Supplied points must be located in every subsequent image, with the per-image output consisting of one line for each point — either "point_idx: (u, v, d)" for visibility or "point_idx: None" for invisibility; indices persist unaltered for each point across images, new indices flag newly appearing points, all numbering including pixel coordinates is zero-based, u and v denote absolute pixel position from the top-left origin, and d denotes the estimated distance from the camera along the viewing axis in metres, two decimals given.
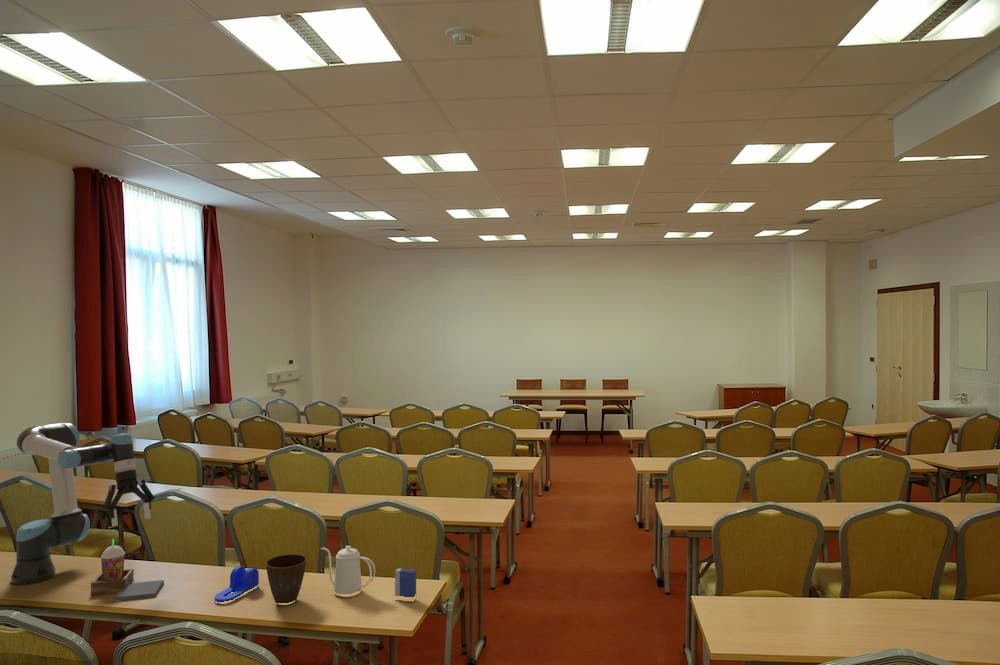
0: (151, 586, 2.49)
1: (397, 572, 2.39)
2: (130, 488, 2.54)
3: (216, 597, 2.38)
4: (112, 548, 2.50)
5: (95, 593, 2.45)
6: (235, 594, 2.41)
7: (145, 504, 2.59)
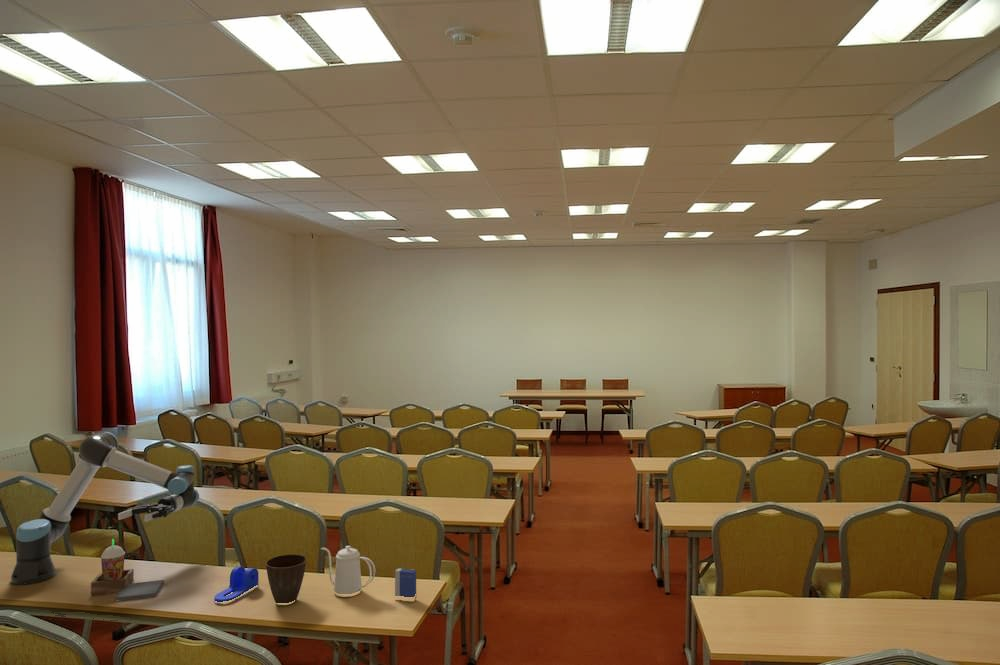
0: (151, 586, 2.49)
1: (397, 572, 2.39)
2: None
3: (216, 597, 2.38)
4: (112, 548, 2.50)
5: (95, 593, 2.45)
6: (235, 594, 2.41)
7: (130, 513, 2.69)
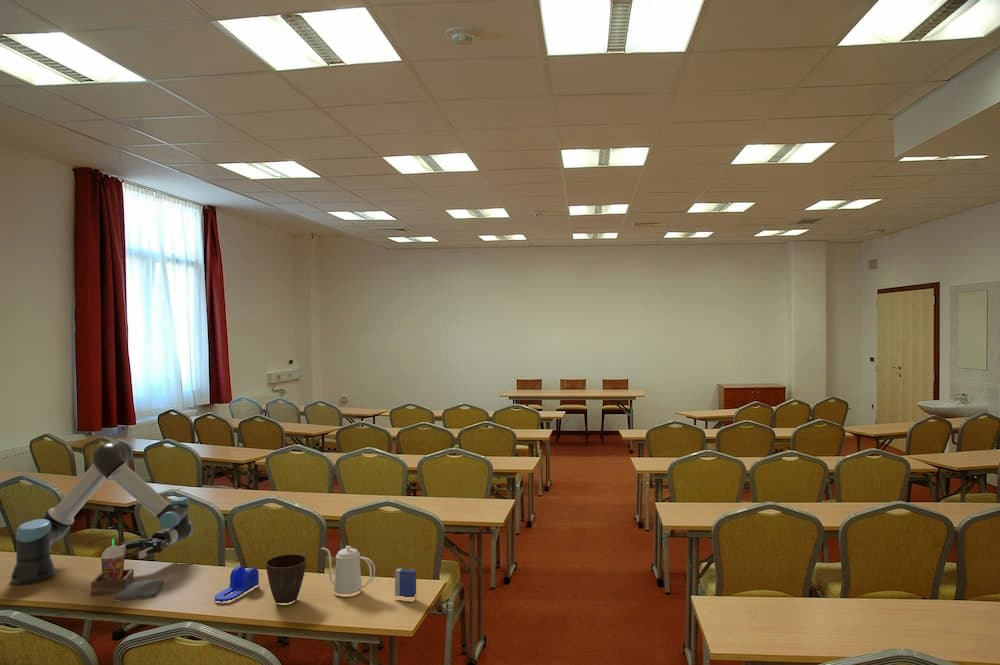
0: (151, 586, 2.49)
1: (397, 572, 2.39)
2: None
3: (216, 597, 2.38)
4: (112, 548, 2.50)
5: (95, 593, 2.45)
6: (235, 594, 2.41)
7: (124, 548, 2.65)
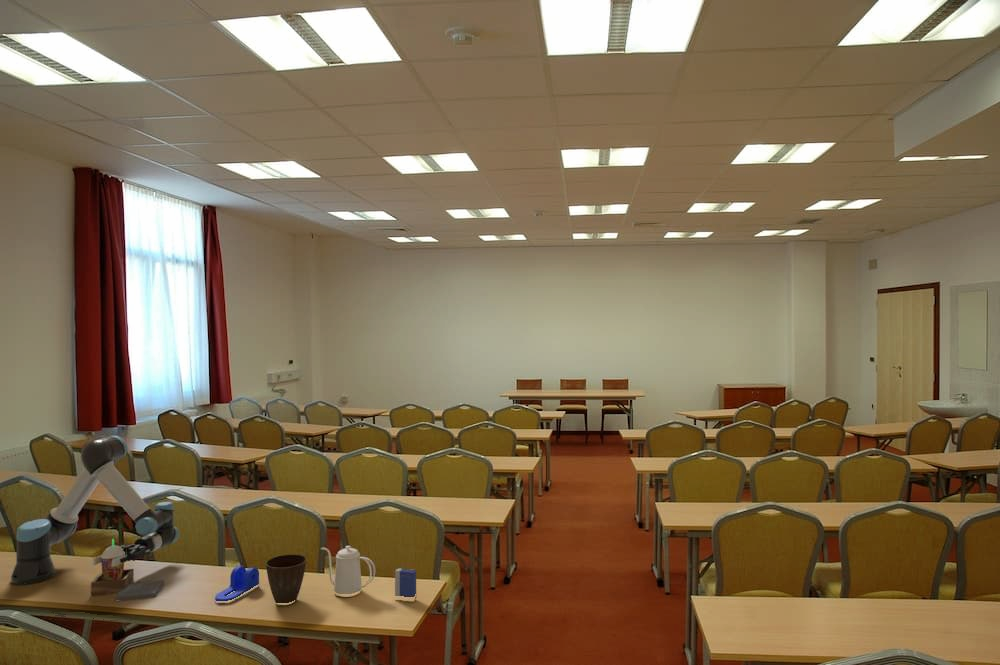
0: (151, 586, 2.49)
1: (397, 572, 2.39)
2: None
3: (217, 597, 2.38)
4: (112, 548, 2.50)
5: (95, 593, 2.45)
6: (236, 594, 2.41)
7: None
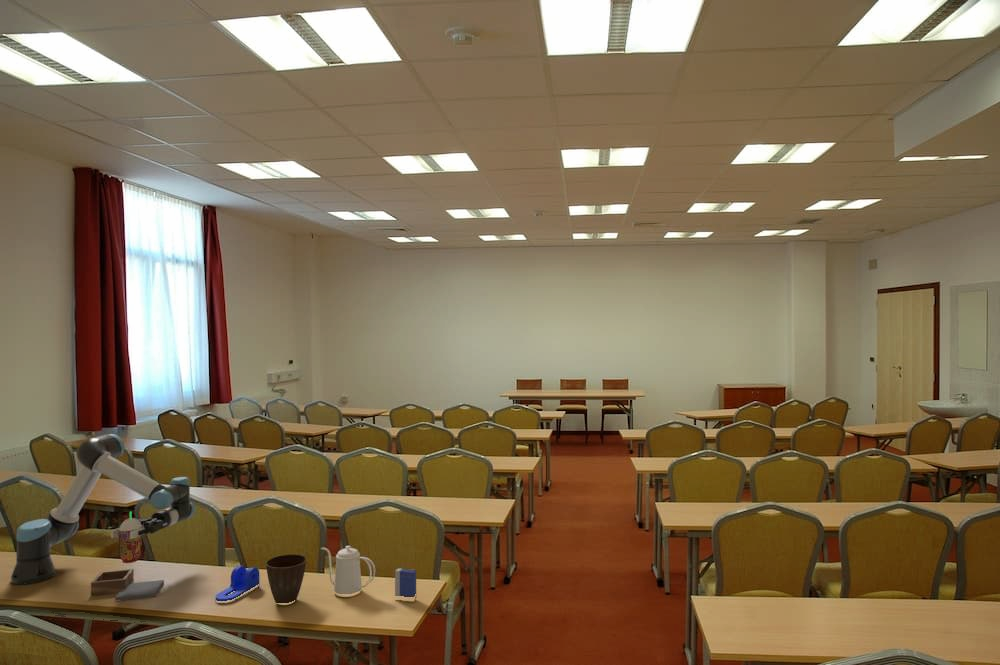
0: (151, 586, 2.49)
1: (397, 572, 2.39)
2: None
3: (217, 597, 2.38)
4: (130, 520, 2.48)
5: (95, 593, 2.45)
6: (236, 593, 2.41)
7: None
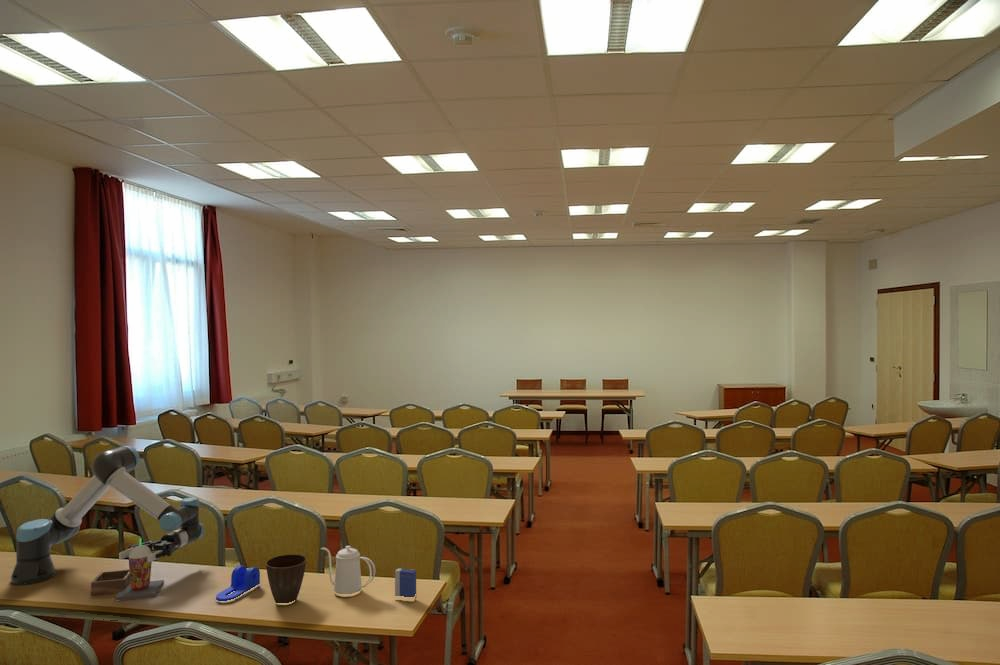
0: (151, 586, 2.49)
1: (397, 572, 2.39)
2: None
3: (217, 596, 2.38)
4: (140, 548, 2.46)
5: (95, 593, 2.45)
6: (236, 593, 2.41)
7: None
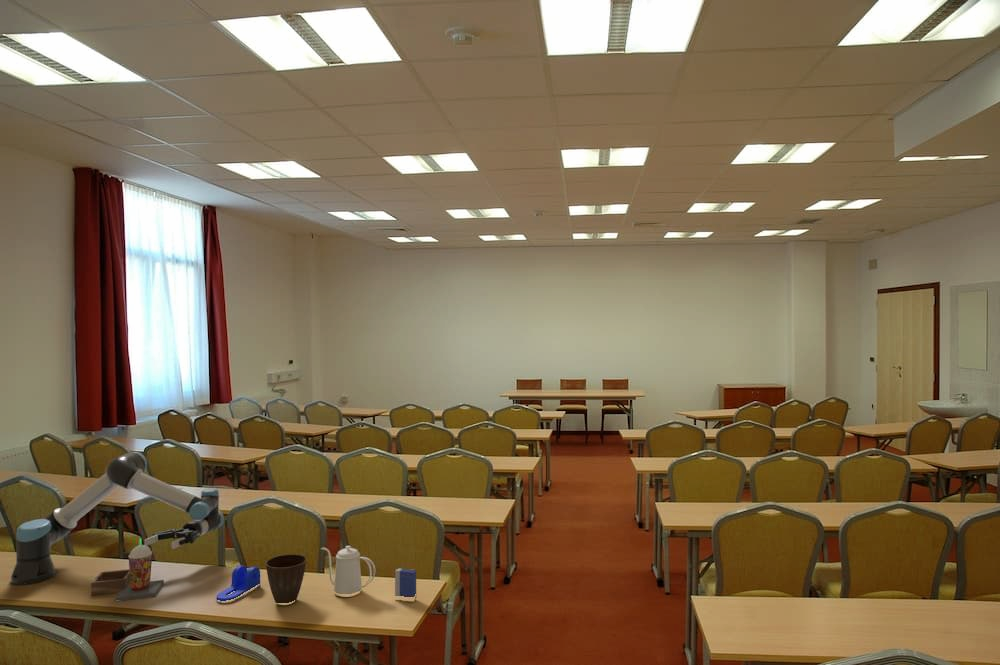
0: (151, 586, 2.49)
1: (397, 572, 2.39)
2: None
3: (218, 596, 2.39)
4: (140, 548, 2.46)
5: (95, 593, 2.45)
6: (237, 593, 2.42)
7: (156, 539, 2.65)
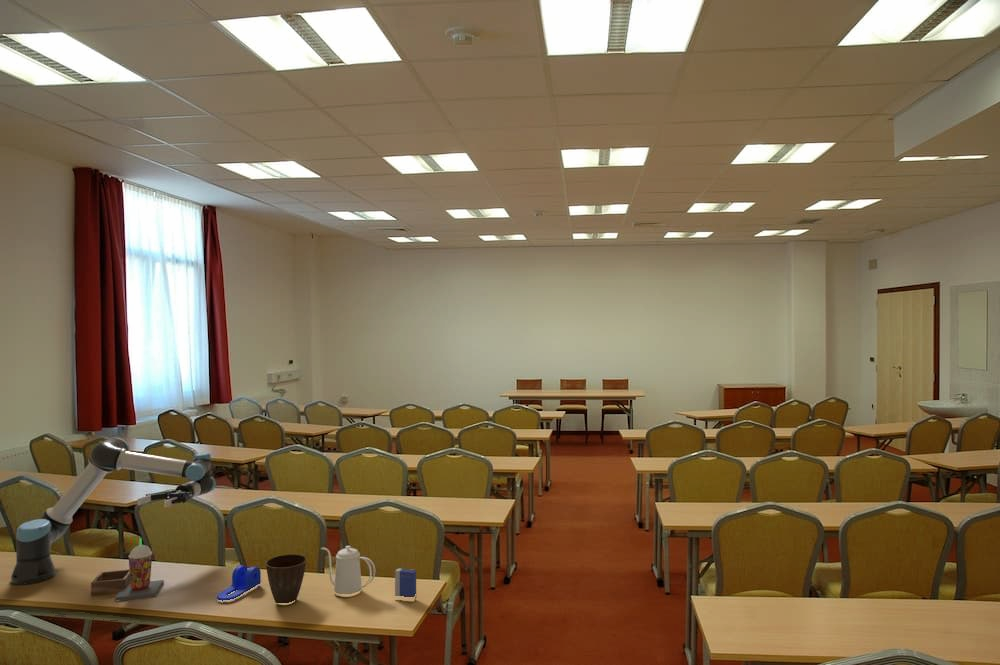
0: (151, 586, 2.49)
1: (397, 572, 2.39)
2: None
3: (218, 596, 2.39)
4: (140, 548, 2.46)
5: (95, 593, 2.45)
6: (237, 593, 2.42)
7: (149, 499, 2.70)
